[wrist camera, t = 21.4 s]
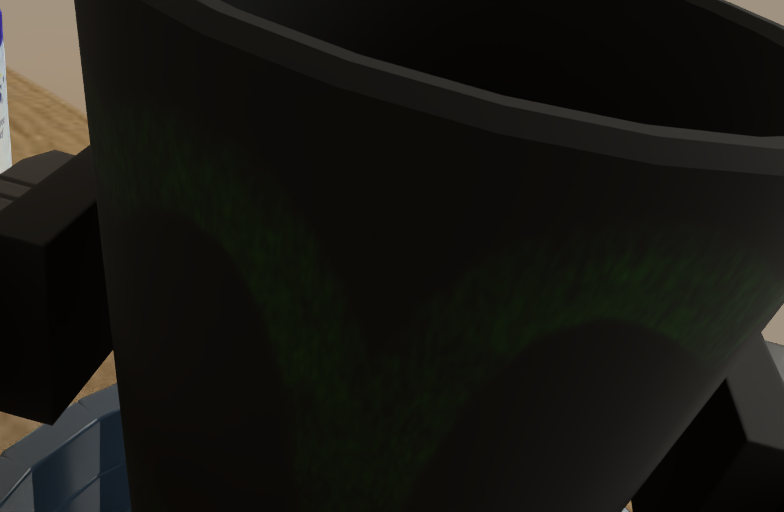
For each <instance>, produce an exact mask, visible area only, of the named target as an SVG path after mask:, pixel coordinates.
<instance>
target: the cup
mask: <svg viewBox="0 0 784 512" xmlns="http://www.w3.org/2000/svg"><path fill="white" fill-rule="evenodd" d="M74 3H75V11H76V21H77V30H78V37H79V38H78V39H79V47H80V56H81V65H82V74H83V83H84V92H85V101H86V110H87V119H88V128H89V137H90V146H91V155H92V163H93V172H94V181H95V190H96V199H97V208H98V217H99V226H100V235H101V244H102V253H103V262H104V271H105V280H106V288H107V297H108V306H109V315H110V324H111V333H112V342H113V351H114V360H115V369H116V378H117V387H118V396H119V405H120V413H121V422H122V431H123V440H124V449H125V458H126V467H127V476H128V485H129V494H130V503H131V512H622V510H623V509H624V508H625V507H626V505H627V504H628V503H629V501H630V500H631V499H632V498H633V496H634V495H635V494H636V492H637V491H638V490H639V489H640V487H641V486H642V485H643V483H644V482H645V481H646V480H647V478H648V477H649V476H650V474H651V473H652V472H653V471H654V469H655V468H656V467H657V465H658V464H659V463H660V462H661V460H662V459H663V458H664V456H665V455H666V454H667V453H668V451H669V450H670V449H671V447H672V446H673V445H674V444H675V442H676V441H677V440H678V438H679V437H680V436H681V435H682V433H683V432H684V431H685V429H686V428H687V427H688V426H689V424H690V423H691V422H692V420H693V419H694V418H695V417H696V415H697V414H698V413H699V411H700V410H701V409H702V408H703V406H704V405H705V404H706V402H707V401H708V400H709V399H710V397H711V396H712V395H713V393H714V392H715V391H716V390H717V388H718V387H719V386H720V384H721V383H722V382H723V381H724V379H725V378H726V377H727V375H728V374H729V373H730V372H731V370H732V369H733V368H734V366H735V365H736V364H737V363H738V361H739V360H740V359H741V357H742V356H743V355H744V354H745V352H746V351H747V350H748V348H749V347H750V346H751V345H752V343H753V342H754V341H755V339H756V338H757V337H758V336H759V334H760V333H761V332H762V330H763V329H764V328H765V327H766V325H767V324H768V323H769V321H770V320H771V319H772V318H773V316H774V315H775V314H776V312H777V311H778V310H779V309H780V307H781V306H782V305H783V303H784V26H782V25H780V24H778V23H776V22H773V21H771V20H769V19H766V18H764V17H762V16H759V15H757V14H755V13H752V12H751V11H748V10H746V9H743V8H741V7H739V6H737V5H734V4H732V3H730V2H727V1H725V0H74Z"/></svg>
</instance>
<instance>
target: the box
mask: <svg viewBox="0 0 784 512" xmlns="http://www.w3.org/2000/svg"><path fill="white" fill-rule="evenodd" d="M10 167H12V159H11V144H10V130H9V119H8V103H7V87H6V69H5V55H4V42H3V31H2V12H1V9H0V174H1V173H3V172H4V171H6V170H7V169H9V168H10Z"/></svg>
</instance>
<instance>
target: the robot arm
mask: <svg viewBox="0 0 784 512" xmlns="http://www.w3.org/2000/svg"><path fill="white" fill-rule="evenodd" d="M112 350H113V342H112V333H111V324H110V315H109V306H108V297H107V288H106V280H105V271H104V262H103V253H102V244H101V235H100V226H99V217H98V208H97V199H96V190H95V181H94V172H93V163H92V155H91V146H90V145H89V146H88V147H87V148H85V149H84V150H83V151H81V152H80V153H78V154H77V155H76V156H75V155H72V154H68V153H64V152H61V151H57V150H53V151H49V152H46V153H43V154H39V155H36V156H33V157H29V158H26V159H22V160H21V161H19V162H18V163H16V164H15V165H13V166H12V167H10V168H9V169H7V170H6V171H4V172H3V173H1V174H0V411H1V412H5V413H8V414H12V415H15V416H19V417H22V418H26V419H30V420H33V421H37V422H40V423H44V424H47V425H51V426H53V425H54V423H55V422H56V421H57V420H58V418H59V417H60V416H61V415H62V413H63V412H64V411H65V410H66V408H67V407H68V406H69V404H70V403H71V402H72V401H73V399H74V398H75V397H76V396H77V394H78V393H79V392H80V391H81V389H82V388H83V387H84V386H85V384H86V383H87V382H88V380H89V379H90V378H91V377H92V375H93V374H94V373H95V372H96V370H97V369H98V368H99V367H100V365H101V364H102V363H103V361H104V360H105V359H106V358H107V356H108V355H109V354H110V353H111V351H112ZM631 503H632V509H633V512H784V346H783V345H780V344H776V343H772V342H769V341H765V340H764V338H763V336H762V334H761V333H760V334H759V336H758V337H757V338H756V339H755V341H754V342H753V343H752V345H751V346H750V347H749V348H748V350H747V351H746V352H745V354H744V355H743V356H742V357H741V359H740V360H739V361H738V363H737V364H736V365H735V366H734V368H733V369H732V370H731V372H730V373H729V374H728V375H727V377H726V378H725V379H724V381H723V382H722V383H721V384H720V386H719V387H718V388H717V390H716V391H715V392H714V393H713V395H712V396H711V397H710V399H709V400H708V401H707V402H706V404H705V405H704V406H703V408H702V409H701V410H700V411H699V413H698V414H697V415H696V417H695V418H694V419H693V420H692V422H691V423H690V424H689V426H688V427H687V428H686V429H685V431H684V432H683V433H682V435H681V436H680V437H679V438H678V440H677V441H676V442H675V444H674V445H673V446H672V447H671V449H670V450H669V451H668V453H667V454H666V455H665V456H664V458H663V459H662V460H661V462H660V463H659V464H658V465H657V467H656V468H655V469H654V471H653V472H652V473H651V474H650V476H649V477H648V478H647V480H646V481H645V482H644V483H643V485H642V486H641V487H640V489H639V490H638V491H637V492H636V494H635V495H634V496H633V498H632V499H631Z"/></svg>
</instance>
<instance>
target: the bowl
mask: <svg viewBox="0 0 784 512" xmlns="http://www.w3.org/2000/svg"><path fill="white" fill-rule="evenodd" d="M0 512H131V503H130V494H129V485H128V476H127V467H126V458H125V449H124V440H123V431H122V422H121V413H120V405H119V396H118V387H117V383H116V384H113V385H111V386H109V387H106V388H104V389H102V390H99V391H97V392H95V393H92V394H90V395H88V396H85V397H83V398H81V399H79V400H78V402H75V403H73V404H71V405H70V406H68V407H67V408H66V410H65V411H64V412H63V413H62V415H61V416H60V417H59V418H58V420H57V421H56V422H55V423H54V425H53V426H51V425H47V424H43V425H41V426H40V427H38V428H37V429H35V430H34V431H32V432H31V433H30V434H28V435H27V436H25V437H24V438H22V439H21V440H19V441H18V442H17V443H15V444H14V445H12V446H11V447H9V448H8V449H6V450H5V451H4V452H3V453H2V454H1V456H0ZM622 512H629V510H628V509H627V508H626V507H625V508H624V509H623V510H622Z"/></svg>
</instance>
